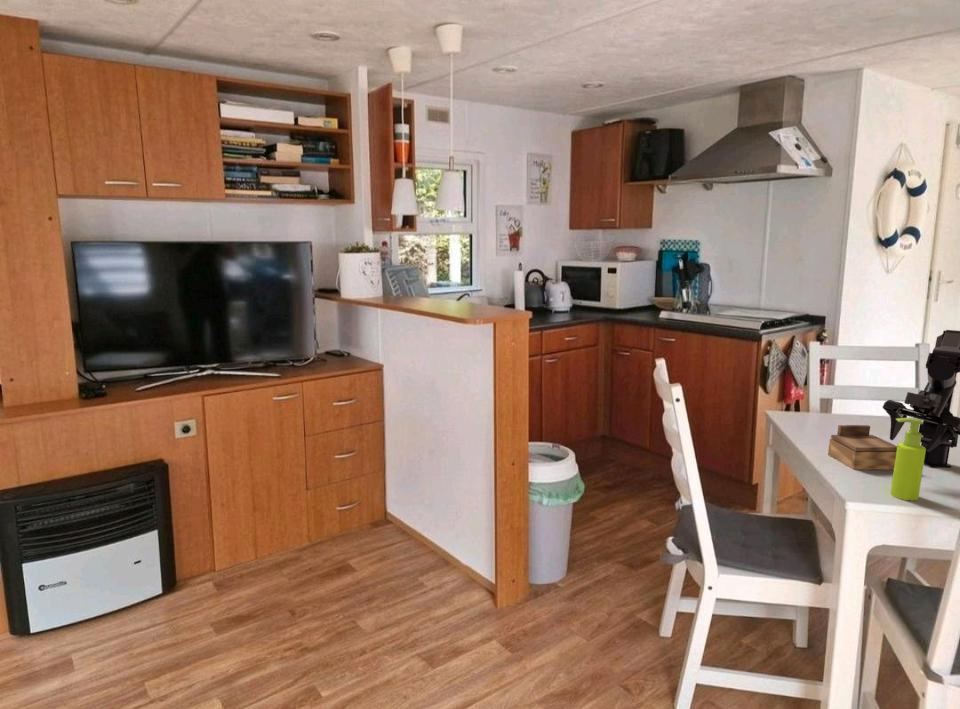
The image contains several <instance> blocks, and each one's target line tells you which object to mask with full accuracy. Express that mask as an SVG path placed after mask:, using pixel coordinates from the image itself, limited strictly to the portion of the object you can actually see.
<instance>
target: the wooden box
mask: <svg viewBox="0 0 960 709" xmlns="http://www.w3.org/2000/svg"><path fill="white" fill-rule="evenodd" d="M896 452H897V451H855V450H853V449H851V448H849V447H847V446H845V445H843V444H841V443H840V442H838V441H836V440H834V439H832V438H830V439H829V442H828V450H827V456H829V457H831V458H832V459H834V460H836V461H838V462H840V463H841V464H843V465H845V466H847V467H849V468H850V469H852V470H894V466H895V459H896Z"/></svg>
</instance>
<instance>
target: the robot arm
mask: <svg viewBox="0 0 960 709" xmlns="http://www.w3.org/2000/svg"><path fill="white" fill-rule="evenodd" d="M934 344H935V346H934V347H933V349H932V352H929V353H928V356H927V360H926V363H925V369H927V384H926V385H925V387H924V389H923V390H921V389H920V390H919V391H918V393H914V392H911V391H910V392H909V391H907V393H906V396H905V400H904V402H903V403H902V402H899V401H896V400H892V399H888V400H885V402H884V403H883V405H882V409H883V410H884V411H885V413H887V414H888V416H889V417H890V430H889V440H890V441H894V440H895V438H896V437H897V435H898V434H899V433H900V431H901V429H902V428H903V426H904V425H905V423H906V422H898V421H897V420H896V419H897V418H909V417H910V418H912V419H918V420H921V421H922V422H923V424H919V429H918V432H920V433H921V434H922V437H921V443H920V446H923V447H925V448H926V452H925V458H924V465H925V466H928V467H930V468H952V464H950V463H948V461H949V455H950V451H951V450H950V449H951V448H952V449H954V448H957V447H958V446H957V445H958V440H959V439H958V438H959V436H960V417H958V416H955V415H954V414H953V413H952V411H951V406H952V401H953V396H954V392H955V388H956V385H957V384H958V382H957V375H958V373H960V330H955V329H946V330H943V331H942V333H941V335H940V334H939V335H938V336H936V340H935V343H934ZM905 404H906V405H909V407H910V408H912V409H910V408H908V407H906V406H905Z"/></svg>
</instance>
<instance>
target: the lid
mask: <svg viewBox="0 0 960 709" xmlns="http://www.w3.org/2000/svg"><path fill="white" fill-rule="evenodd" d="M870 430H871V426H870V425H869V424H839V425H838V426H837V434H831V435H830V439H834V440H836V441H838V442H840V443H841V444H843V445H845V446H847V447H849V448H851V449H853V450H855V451H897V445H896V444H893V443H891V442H889V441H887V440H885V439H882V438H881V437H878V436H876V435H874V434H870V432H871V431H870Z"/></svg>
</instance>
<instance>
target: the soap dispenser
mask: <svg viewBox="0 0 960 709" xmlns="http://www.w3.org/2000/svg"><path fill="white" fill-rule="evenodd" d="M896 420H897V421H898V422H905V423H910V426H909V427H910V428H909V430H906V431H905V433H904V439H903V442H899V443H897V445H896V446H897V452H896V459H895V466H894V469H893V473H892V480H891V489H890V495H891V496H893V497H894V498H896V499H900V500H903V501H908V500H911V502H914V500H915V501H918V500H919V497H920V490H921V483H922V477H923V472H924V471H923V470H924V465H925V464H924V458H925V452H926V448H925V447H923V446H921V437H922V434H921V433H920V432H919V427H920V424H923V422H922V421H923V420H921V419H917V418H913V417H910V418H909V417H907V418H897V419H896Z"/></svg>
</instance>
